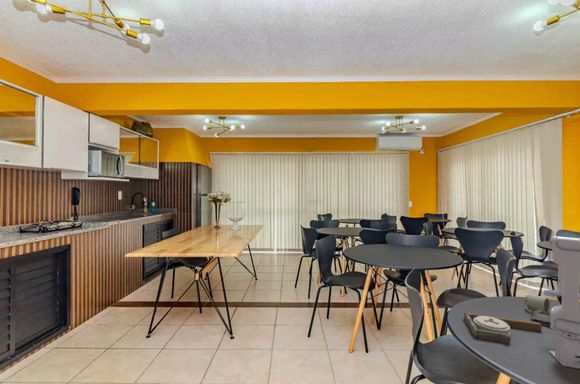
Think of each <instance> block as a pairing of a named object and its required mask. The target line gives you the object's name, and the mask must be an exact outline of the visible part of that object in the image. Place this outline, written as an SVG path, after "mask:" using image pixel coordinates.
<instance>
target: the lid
mask: <svg viewBox="0 0 580 384" xmlns="http://www.w3.org/2000/svg"><path fill="white" fill-rule="evenodd" d="M488 316H489V315H488ZM488 316H478V317H476V318H474V319H473V320H474V324H475V326H476V327H477V329H480V330H487V331H493V332H500V333H503V334H506V335H510V336H511V332H510V329H511V327H510V326H509V325H508V324H507V323H505V322H504V321H502V320H500V319H497V318H493V317H488Z"/></svg>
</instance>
